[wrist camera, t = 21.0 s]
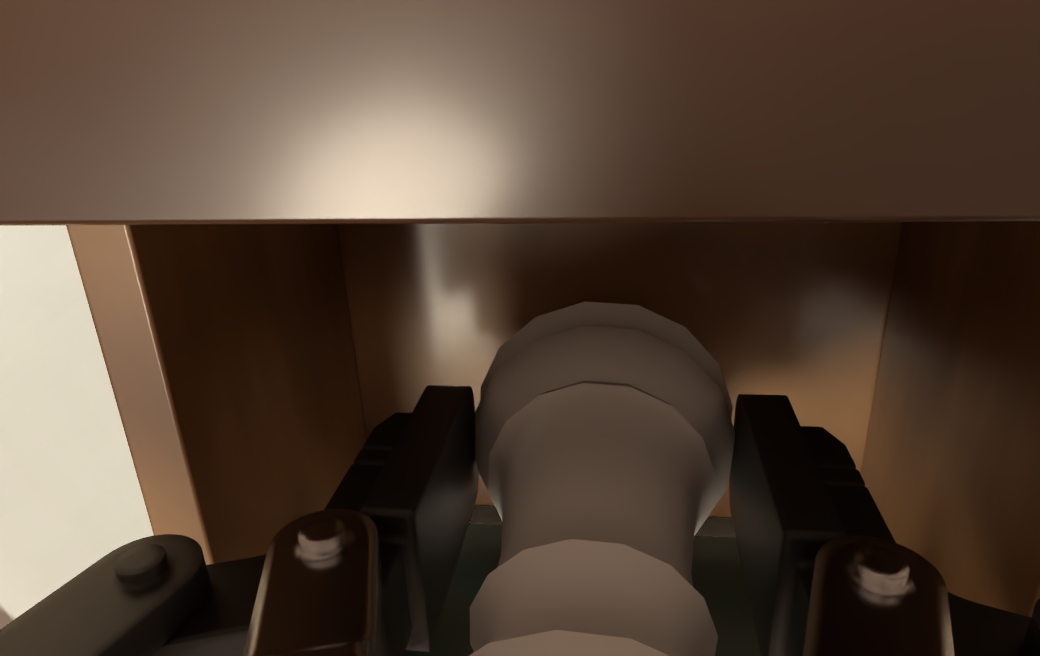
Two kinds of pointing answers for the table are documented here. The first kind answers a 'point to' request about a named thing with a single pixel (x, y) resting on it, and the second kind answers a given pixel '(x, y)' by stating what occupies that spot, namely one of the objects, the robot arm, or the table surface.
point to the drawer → (556, 285)
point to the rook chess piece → (600, 485)
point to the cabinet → (518, 111)
